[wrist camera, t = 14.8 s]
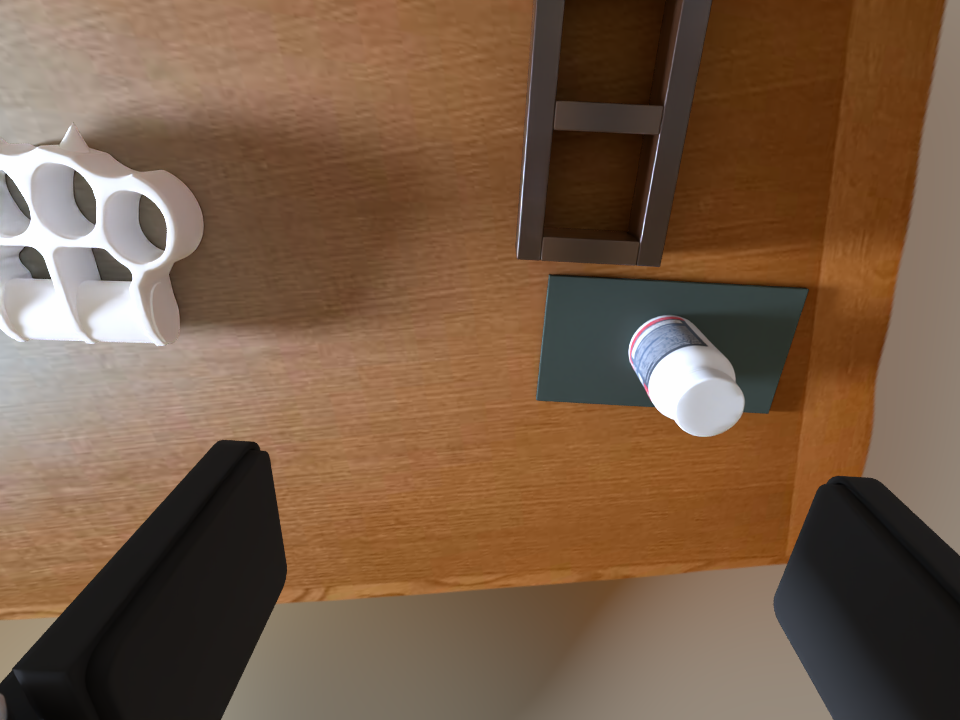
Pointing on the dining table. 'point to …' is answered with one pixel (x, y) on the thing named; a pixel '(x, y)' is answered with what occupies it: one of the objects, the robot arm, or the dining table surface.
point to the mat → (632, 302)
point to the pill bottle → (686, 376)
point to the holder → (655, 121)
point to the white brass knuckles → (89, 246)
